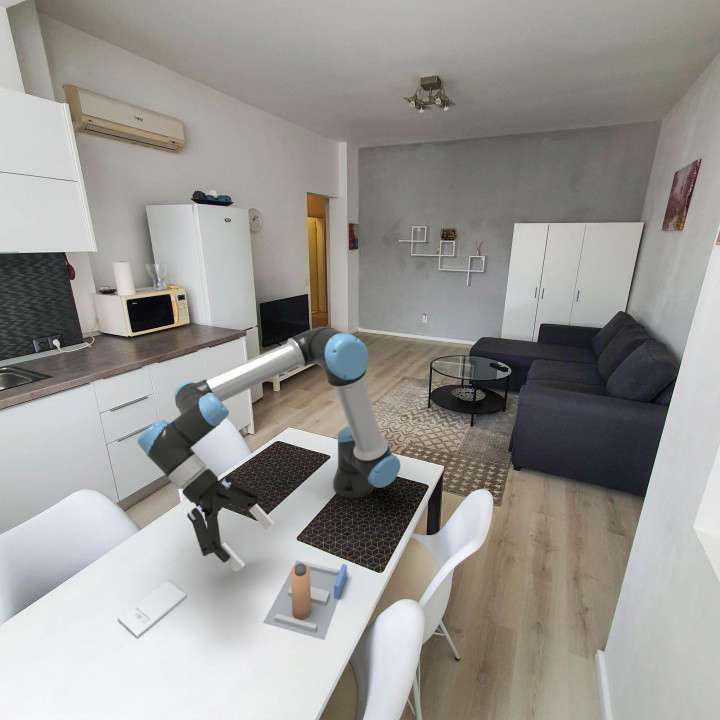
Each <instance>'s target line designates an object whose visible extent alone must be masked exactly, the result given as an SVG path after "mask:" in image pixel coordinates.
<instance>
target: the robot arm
mask: <svg viewBox="0 0 720 720" xmlns="http://www.w3.org/2000/svg"><path fill="white" fill-rule="evenodd" d="M369 361H370V360H369V351H368V349H367V346H366V345H365V343H364V342H363V340H360V339H359V338H358V337H357V336H355V335H353V334H351V333H346V332H345V331H344V332H343V331H340V330H339V329H336V328H333V327H329V326H319V327H316V328H312V329H309V330H306V331H304V332H301V333H299V334H297V335H295V336H292V337H290V338H288V339H287V342H286V343H285V344H282V345H281V346H280V345H279V346H278V347H275V348H273V349H271V350H268V351H266V352H264V353H262V354H260V355H258V356H254V357H253V358H251V359H249V360H246V361H244V362H241V363H238V364H237V365H235V366H233V367H230V368H228V369H226V370H224V371H221V372H219V373H217V374H215V375H212V376H210V377H208V378H205V379H203V380H201V381H197V382H194V381H193V382H192V381H187V382H183V383H181V384H180V385H178V387H177V388H176V389H175V392H174V401H175V406H176V408H177V409H178V411H179V414H180V415H179V416H177V417H176V418H175V419H174V420H173V421H171V422H168V421H166V420H165V419H164V420H163V419H161V420H158V421H156V422H155V423H153V424H152V425H151V426H148V428H146V429H145V430H144V431H143V432H142V433H140V435H139V436H138V437H137V444H138V445H139V446H140V449H142V451H143V452H144V453H145V454H146V456H147V457H148V458H149V459H150V460H151V461H152V462H153V463H154V464H155V465H156V466H157V467H158V468H159V469H160V470H161V472H162V473H164V475H165V476H166V477H167V478H168V479H169V481H171V483H172V484H174V485H175V488H177V489H179V490H181V489H182V490H181V491H182V494H183V496H184V497H185V498H186V499H187V500H188V501H189V502H190V503H192V504H194V505H195V506H196V507H194V508H193V509H191V510H190V511H189V512H188V513H187V514H186V516H187V518H188V519H189V521H190V522H191V524H192V527H193V529H194V532H195V537H196V539H197V541H198V545H199V547H200V551H201V554H202V556H203V557H208V555H212V554H215V556H216V557H217V558H218V559H219V560H220V561H221V562H222V563H224V564H226V563H227V565H229V566H230V568H231V569H232V570H233V571H234V572H235V573H237V572H238V571H240V570H242V569H243V567H244V566H245V565H246V564H245V563H244V562H243V561H242V559H241V558H240V557H239V556H238V555H237V554H236V553H235V552H234V551H233V549H232V548H230V546H229V545H227V543H226V542H223V543H222V541H221V535H220V526H219V518H218V516H219V512H220V511H221V510H222V509H223V507H224V506H226V505H227V504H231V505H236V506H240V507H241V506H242V507H247V508H249V509H248V512H249V513H250V514H251V515H252V516H253V517H254V518H255V519H256V520H257V521H258V523H259V524H260V525H261V526H262V527H263V528H264V529H265V530H268V529H269V528H271V527H272V526H273V525H274V524H275V522H274V521H273V520H272V519H271V518H270V516H269V515H268V514H267V513H266V510H265V509H264V507H262V505H261V504H260V503H259V501H260V492H258V491H255V490H254V489H252V488H249V487H248V486H245V485H243V484H242V483H239V482H237V481H235V480H234V479H233V478H232V477H230V476H226V477H225V478H224V479H222V481H221V482H219V477H218V476H217V475H216V474H215V473H214V472H213V470H212V469H211V468H207V464H206V463H205V462H204V461H203V460H202V459H201V457H199V455H198V454H197V453H196V452H195V451H194V450H193V447H194V446H195V445H197V444H198V442H200V441H202V440H203V438H204V437H206V436H207V435H208V434H210V433H211V432H212V431H213V430H214V429H216V427H218V426H220V425H221V423H222V422H223V421H224V420H225V419H226V418H227V417H229V414H230V411H229V409H228V408H227V406H226V405H225V404H224V403H223V402H224V401H226V400H228V399H230V398H233V397H234V396H237V395H239V394H241V393H243V392H245V391H248V390H250V389H253V388H255V387H256V386H259V385H261V384H263V383H265V382H267V381H270V380H271V379H273V378H275V377H279V376H280V375H282V374H285V373H286V372H289V371H291V370H293V369H295V368H297V367H298V368H301V369H303V368H306V367H308V366H310V365H318V366H320V367H322V369H323V372H324V375H325V377H326V381H327V382H328V384H329V385H330V386H331V387H334V388H335V390H336V393H337V395H338V397H339V401H340V404H341V406H342V409H343V413H344V414H345V415H344V416H345V417H346V421H347V424H348V426H347V427H343V428H342V429H341V430H339V432H338V435H337V468H336V472H335V475H334V477H333V480H332V488H333V490H334V492H335V493H336V494H338V496H341V497H343V498H347V499H359V498H364V497H367V496H368V495H370V494H371V493H372V492H373V491H374V488H380V489H381V488H385V487H387V486H390V484H392V482H394V481H395V479H396V478H397V476H398V474H399V472H400V470H401V462H400V459H399V458H398V456H396V455H395V454H393V453H392V451H391V448H390V444H389V442H388V440H387V438H386V437H384V436H382V434H381V431H380V428H379V425H378V421H377V419H376V415H375V411H374V409H373V405H372V402H371V399H370V396H369V395H370V394H369V392H368V390H367V386H366V382H365V379H364V378H365V376H366V375H367V368H368V366H367V364H369ZM203 513H204V516H203Z"/></svg>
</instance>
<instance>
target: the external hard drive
mask: <svg viewBox="0 0 720 720" xmlns="http://www.w3.org/2000/svg"><path fill="white" fill-rule="evenodd" d="M187 598H188V597H187V594H186V593H185V592H184V591H183V590H181V589H179V588H178V587H177V586H176V585H174V584H173V583H171V582H170V581H169V580H166V581H164V582H163V583H161V584H160V585H159V586H158V587H157V588H155V589H153V591H151V592H150V593H149V594H148V595H146V596H145V597H143V598H142V599H141V600H140V601H138V602H137V603H136V604H135V605H133V606H132V607H130V608H129V609H128V610H127V611H126V612H124V613H123V614H121V615H120V616H119V617H117V621H118V622H119V624H121V625H122V626H123V627H124V628H125V629H127V630H128V631H129V633H130V634H132V635H133V636H134V637H135V638H136V639H137V640H138V639H139V638H141V637H142V636H143V635H144V634H145V633H147V632H148V631H149V630H151V629H152V628H153V627H154V626H155V625H156V624H158V622H160V621H161V620H162V619H164V618H165V617H166V616H167V615H168V614H169V613H171V612H172V611H173V610H174V609H176V608H177V607H178V606H179V605H180V604H182V602H184V601H185V600H186V599H187Z"/></svg>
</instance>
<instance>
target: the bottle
mask: <svg viewBox="0 0 720 720" xmlns="http://www.w3.org/2000/svg"><path fill="white" fill-rule="evenodd" d="M293 566H294V565H293ZM290 572H291V591H292V614H293V617H294V618H295V619H298V620H304V619H306V618H308V617H309V615H310V613H311V591H310V568H309V567H308V566H307V565H305V564H297V565H296V566H294V567H292V568H291V570H290Z"/></svg>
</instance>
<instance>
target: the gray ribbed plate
mask: <svg viewBox="0 0 720 720" xmlns="http://www.w3.org/2000/svg"><path fill="white" fill-rule="evenodd" d="M297 564H305V565H307V566H308V567H309V568H310V591H311V613H310V615H309V617H308V618H306V619H304V620H298V619H295V618H294V617H293V614H292V591H291V571H290V572H289V574H288V575H287V577H286V579H285V582H283V585H282V587H281V589H280V590H279V591H278V594H277V596H276V598H275V599H274V602H273V604H272V606H271V607H270V609H269V611H268V613H267V614H266V616H265V618H264V620H263V624H266V625H270V626H273V627H277V628H281V629H284V630H288V631H291V632H294V633H298V634H301V635H306V636H308V637H312V638H315V639H319V640H323V641H324V640H325V639H326V636H327V633H328V629H329V628H330V625H331V622H332V619H333V616H334V615H335V610H336V608H337V605H338V603H339V600H340V597H341V594H342V591H343V588H344V586H345V584H346V581H347V577H348V575H349V571H348V569H347V568H348V565H347V564H345V563H342V564H341V566H340V568H339V569H338V568H332V567H328V566H323V565H320V564H316V563H311V562H306V561H301V560H296V561H295V563H294V565H292V566H293V567H294V566H296V565H297ZM293 567H292V568H293Z"/></svg>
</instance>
